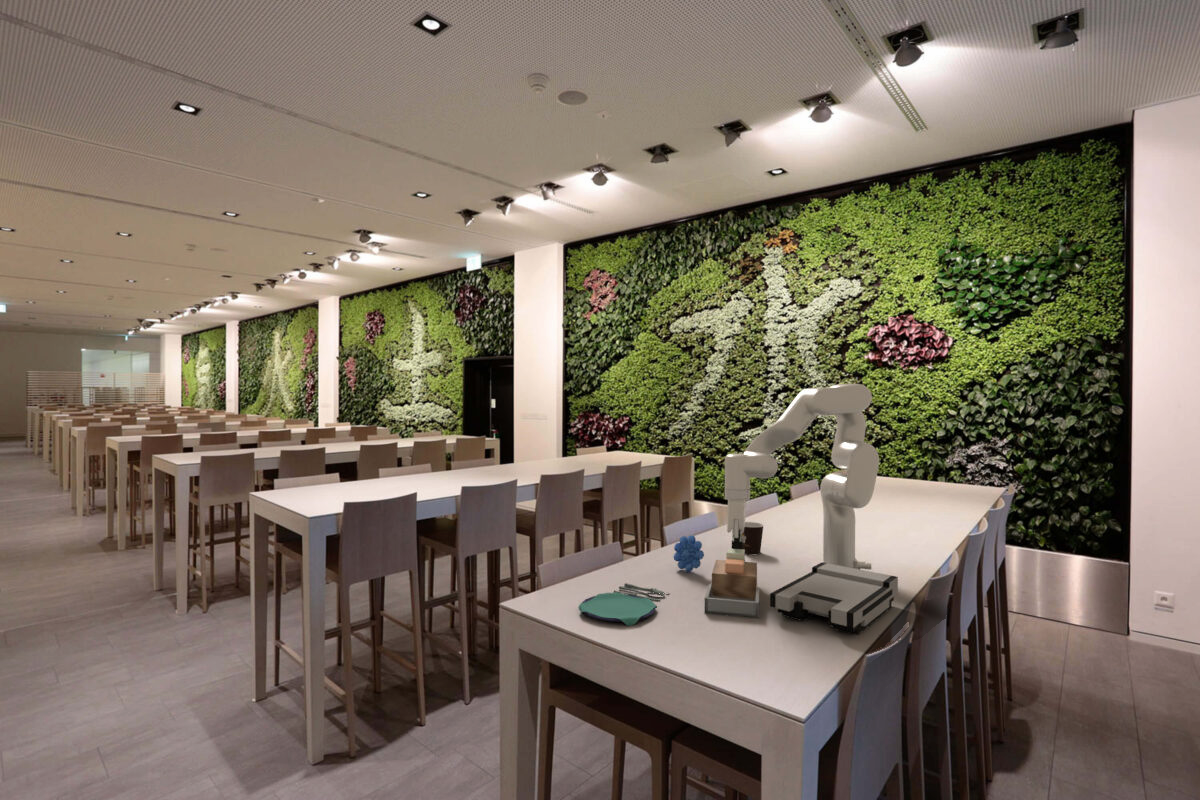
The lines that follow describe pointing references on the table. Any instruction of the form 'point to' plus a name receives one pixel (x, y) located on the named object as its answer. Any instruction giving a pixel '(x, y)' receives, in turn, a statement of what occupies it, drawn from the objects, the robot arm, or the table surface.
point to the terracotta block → (734, 566)
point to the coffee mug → (752, 537)
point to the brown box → (734, 581)
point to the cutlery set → (621, 605)
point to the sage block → (736, 554)
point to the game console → (837, 596)
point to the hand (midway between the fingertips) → (737, 553)
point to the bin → (731, 605)
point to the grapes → (688, 553)
